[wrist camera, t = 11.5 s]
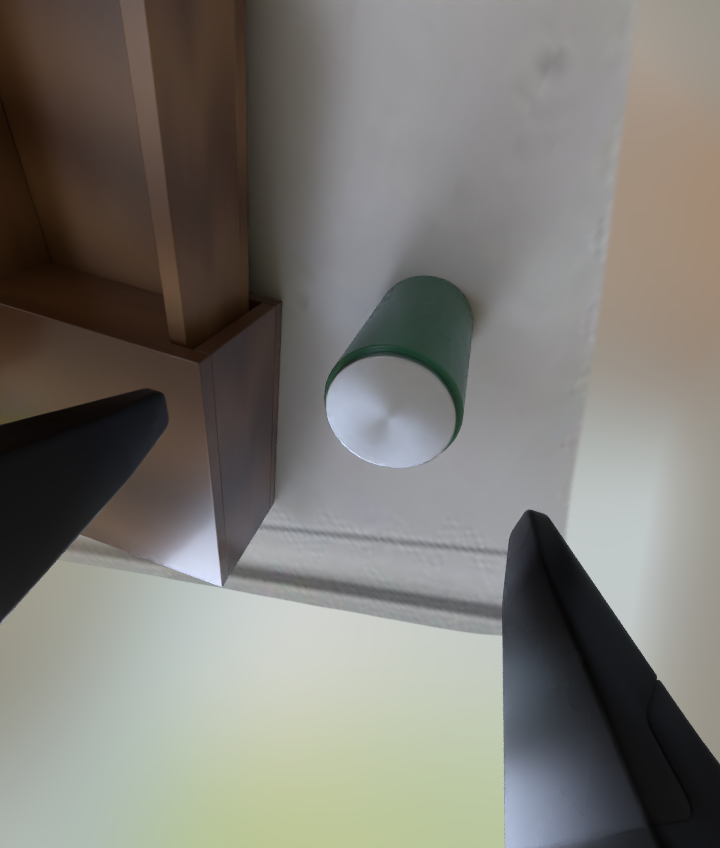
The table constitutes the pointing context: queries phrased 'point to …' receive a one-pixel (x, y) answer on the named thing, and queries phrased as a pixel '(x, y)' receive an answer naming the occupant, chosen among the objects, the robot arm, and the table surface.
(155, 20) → the drawer
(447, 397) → the can
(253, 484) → the cabinet
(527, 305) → the table surface
